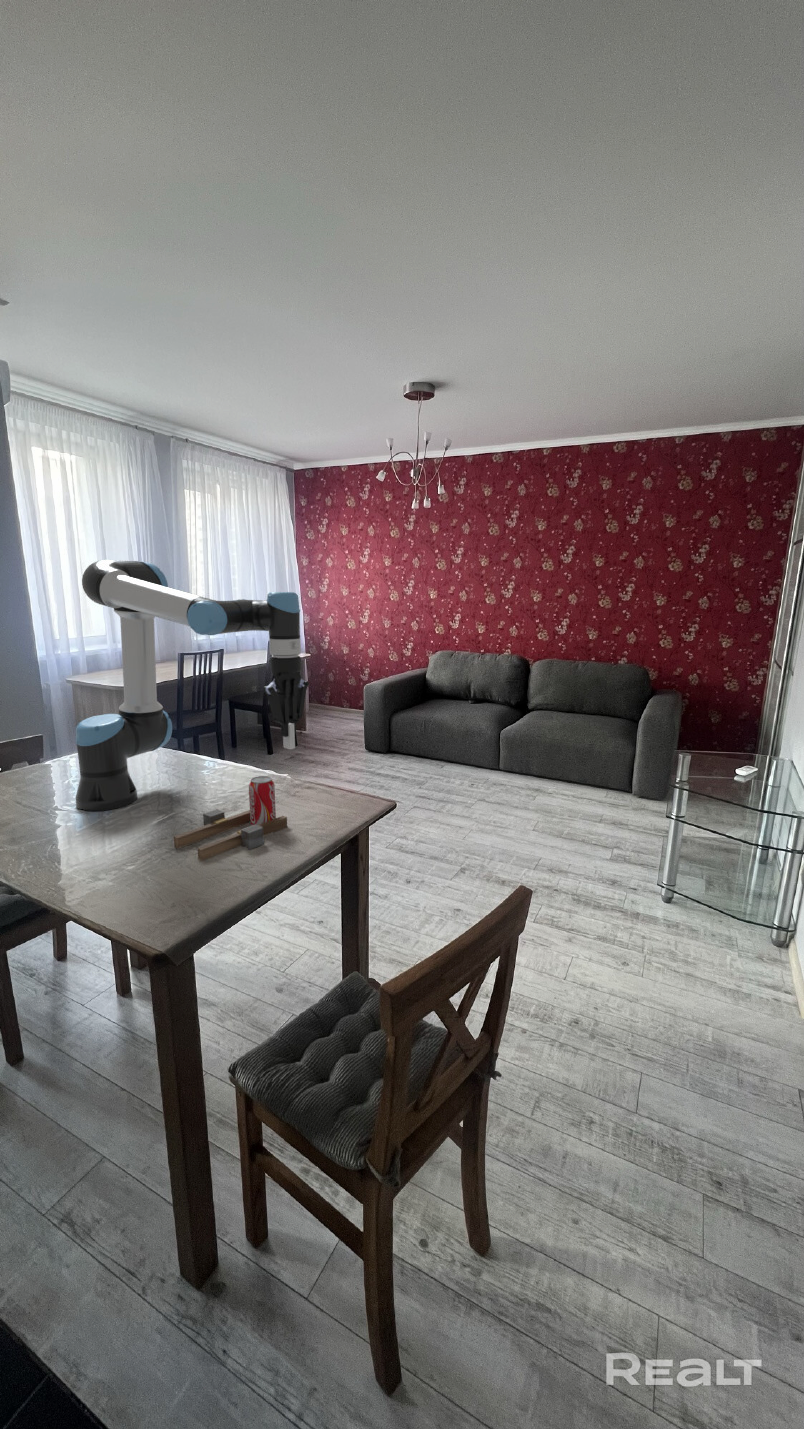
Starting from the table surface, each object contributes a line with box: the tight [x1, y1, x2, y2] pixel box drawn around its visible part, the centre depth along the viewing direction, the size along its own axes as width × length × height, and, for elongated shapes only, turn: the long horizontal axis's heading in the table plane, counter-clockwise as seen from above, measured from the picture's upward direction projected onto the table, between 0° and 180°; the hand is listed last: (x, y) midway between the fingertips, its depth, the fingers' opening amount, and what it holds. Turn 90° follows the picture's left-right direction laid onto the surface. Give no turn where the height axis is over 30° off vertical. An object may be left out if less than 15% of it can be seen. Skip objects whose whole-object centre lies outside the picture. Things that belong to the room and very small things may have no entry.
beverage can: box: [248, 775, 277, 826], centre depth 147 cm, size 6×6×12 cm
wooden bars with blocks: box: [173, 808, 288, 861], centre depth 141 cm, size 18×24×4 cm
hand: (289, 747), depth 151 cm, fingers closed
